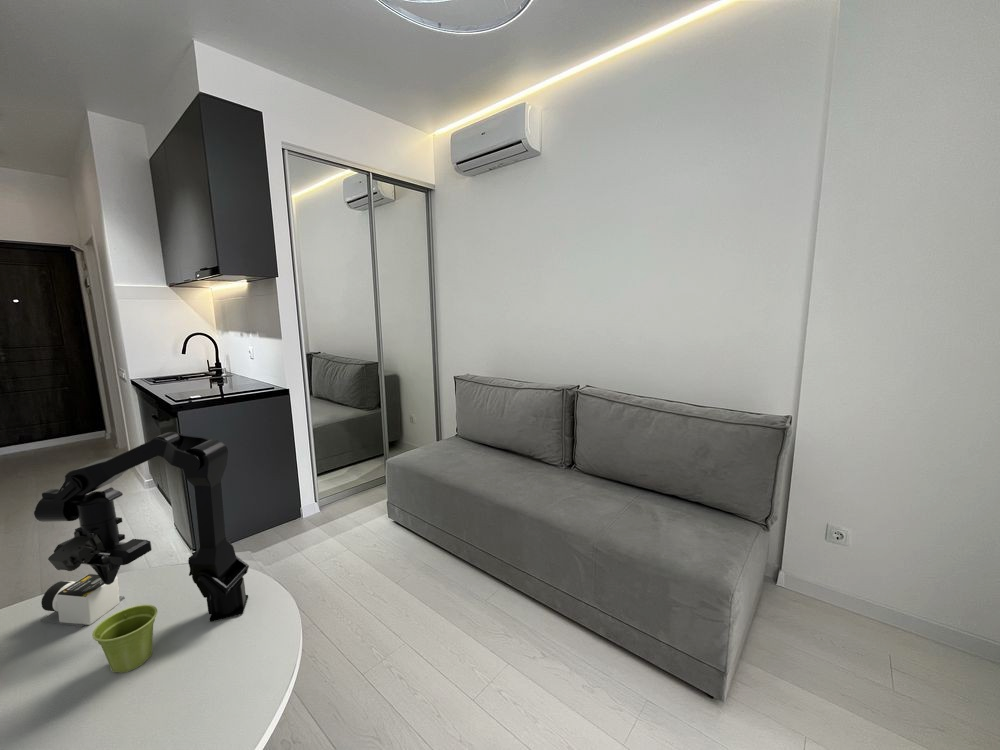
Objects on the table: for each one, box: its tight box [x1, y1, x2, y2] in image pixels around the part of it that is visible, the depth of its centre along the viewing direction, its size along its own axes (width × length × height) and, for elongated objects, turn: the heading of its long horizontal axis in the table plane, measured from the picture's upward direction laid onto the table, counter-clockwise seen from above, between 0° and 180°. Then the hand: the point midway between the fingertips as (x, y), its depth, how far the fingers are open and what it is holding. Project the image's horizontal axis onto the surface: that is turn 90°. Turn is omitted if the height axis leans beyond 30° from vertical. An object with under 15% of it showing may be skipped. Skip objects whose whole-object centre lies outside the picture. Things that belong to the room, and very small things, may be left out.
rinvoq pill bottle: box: [41, 573, 121, 626], centre depth 94 cm, size 7×7×12 cm
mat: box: [40, 595, 126, 628], centre depth 95 cm, size 11×9×1 cm
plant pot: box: [91, 604, 158, 674], centre depth 81 cm, size 9×9×9 cm
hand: (109, 583), depth 93 cm, fingers closed
